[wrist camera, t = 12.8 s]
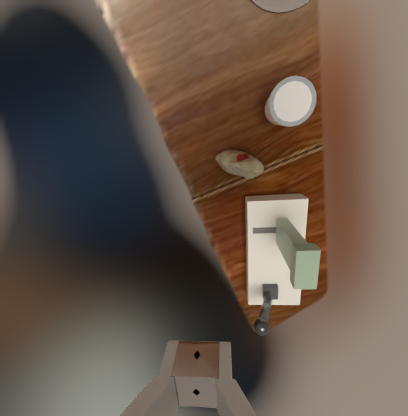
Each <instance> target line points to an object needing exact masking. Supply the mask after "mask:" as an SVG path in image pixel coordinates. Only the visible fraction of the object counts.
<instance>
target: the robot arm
mask: <svg viewBox="0 0 408 416" xmlns="http://www.w3.org/2000/svg"><path fill="white" fill-rule="evenodd" d="M252 1H253V2H254V3H255V4H256V5H258V6H259V7H261V8H263V9H265V10H267V11H271V12H288V11H291V10H294V9H297V8H299V7H301V6H302V5H304V4H306V3H307V2H308V1H310V0H252ZM179 406H199V407H210V408H217V409H218V412H219V414H220V416H257V415H256V414H255V412H254V410H253V409H252V407H251V405H250V404H249V402H248V400H247V399H246V397H245V395H244V394H243V392H242V390H241V389H240V387H239V385H238V384H237V382H236V380H234V379H232V367H231V344H230V342H203V341H201V342H192V341H191V342H190V341H171V340H170V341H169V342H168V344H167V347H166V350H165V354H164V358H163V361H162V365H161V369H160V372H159V376H155V377H154V378H153V379H152V381H151V382H150V383H149V384H148V385H147V386H146V387H145V388H144V389H143V390H142V392H141V393H140V394H139V395H138V396H137V397H136V398H135V399H134V400H133V402H132V403H131V404H130V405H129V406H128V407H127V408H126V409H125V410H124V412H123V413H122V414H121V415H120V416H174V415H175V413H176V412H177V410H178V408H179Z"/></svg>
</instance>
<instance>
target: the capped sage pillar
mask: <svg viewBox="0 0 408 416" xmlns="http://www.w3.org/2000/svg"><path fill="white" fill-rule="evenodd" d="M276 244H277V246H278V248H279V250H280V252H281V254H282V256H283V258H284V260H285V262H286V264H287V266H288V268H289V270H290V282H291V284H292V286H293V288H294V289H317V281H318V272H319V262H320V253H321V250H320V249H319V248H318V247H317V246H316V244H315V243H307V242H306V240H305V239H304V238H303V237H302V235H301V234H300V233H299V232H298V231H297V229H296V228H295V227H294V226H293V224H292V223H291V222H290V221H289V219H288V218H277V220H276Z"/></svg>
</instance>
